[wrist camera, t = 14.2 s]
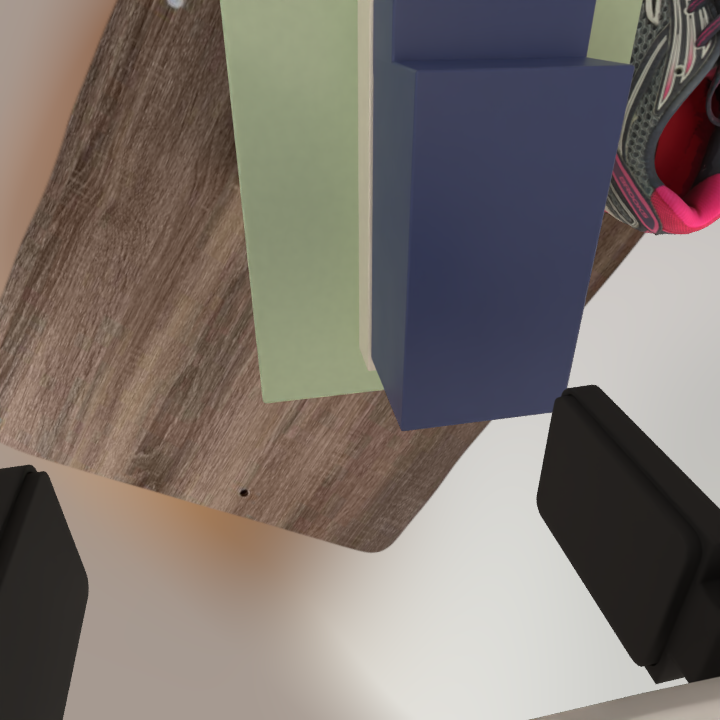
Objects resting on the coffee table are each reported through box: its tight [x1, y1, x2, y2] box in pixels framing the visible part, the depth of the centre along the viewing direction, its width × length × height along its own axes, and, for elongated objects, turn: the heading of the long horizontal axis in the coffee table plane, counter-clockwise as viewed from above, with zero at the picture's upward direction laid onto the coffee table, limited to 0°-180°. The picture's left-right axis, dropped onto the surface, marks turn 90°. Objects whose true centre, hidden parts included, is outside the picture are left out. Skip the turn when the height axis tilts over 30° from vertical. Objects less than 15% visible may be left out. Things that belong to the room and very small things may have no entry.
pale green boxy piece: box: [220, 0, 643, 403], centre depth 32 cm, size 12×16×32 cm
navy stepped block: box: [357, 0, 635, 431], centre depth 16 cm, size 5×12×6 cm, turn 0°
